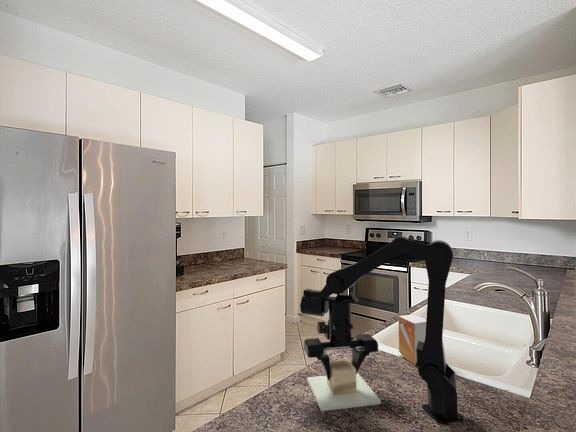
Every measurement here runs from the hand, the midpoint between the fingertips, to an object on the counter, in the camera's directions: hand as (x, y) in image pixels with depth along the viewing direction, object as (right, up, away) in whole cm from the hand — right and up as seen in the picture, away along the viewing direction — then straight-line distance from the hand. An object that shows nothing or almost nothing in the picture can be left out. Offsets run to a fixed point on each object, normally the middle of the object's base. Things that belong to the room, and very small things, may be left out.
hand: (341, 378), depth 86 cm
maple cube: (0, -3, 0) cm, 3 cm away
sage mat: (0, -4, 0) cm, 4 cm away
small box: (+27, -4, +19) cm, 33 cm away
